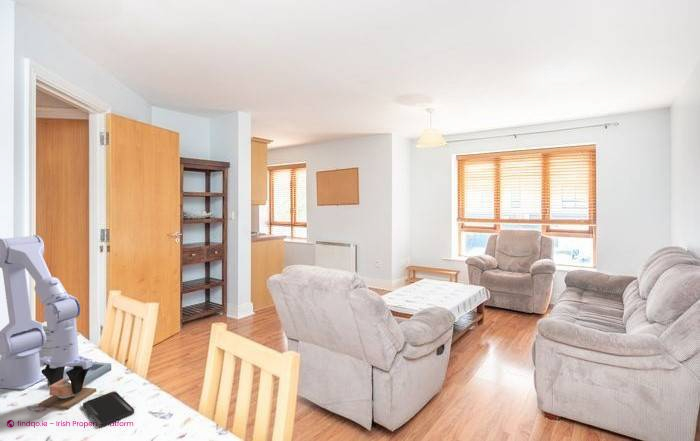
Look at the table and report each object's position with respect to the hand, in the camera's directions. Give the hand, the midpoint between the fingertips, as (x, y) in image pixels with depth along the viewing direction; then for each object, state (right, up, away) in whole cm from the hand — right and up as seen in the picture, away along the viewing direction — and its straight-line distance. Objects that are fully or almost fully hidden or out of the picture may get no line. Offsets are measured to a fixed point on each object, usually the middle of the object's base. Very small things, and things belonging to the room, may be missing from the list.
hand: (67, 391), depth 102 cm
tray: (-5, -1, +12) cm, 13 cm away
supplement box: (-24, -1, +26) cm, 36 cm away
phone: (+14, -3, -5) cm, 16 cm away
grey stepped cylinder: (0, -2, 0) cm, 2 cm away
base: (0, -2, 0) cm, 2 cm away
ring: (0, 0, 0) cm, 0 cm away
